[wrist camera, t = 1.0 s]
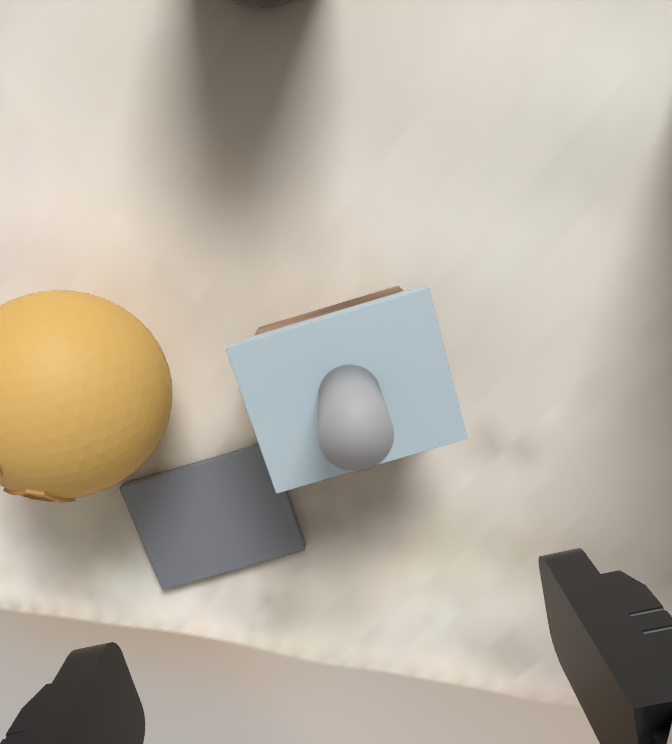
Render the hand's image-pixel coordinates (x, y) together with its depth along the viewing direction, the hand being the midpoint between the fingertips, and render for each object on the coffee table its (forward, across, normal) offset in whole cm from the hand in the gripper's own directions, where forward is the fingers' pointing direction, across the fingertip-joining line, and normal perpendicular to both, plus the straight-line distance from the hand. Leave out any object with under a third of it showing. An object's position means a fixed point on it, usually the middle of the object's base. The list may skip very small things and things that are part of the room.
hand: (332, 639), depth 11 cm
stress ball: (+24, +13, -2) cm, 27 cm away
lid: (+18, -1, 0) cm, 18 cm away
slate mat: (+24, +9, +8) cm, 27 cm away
